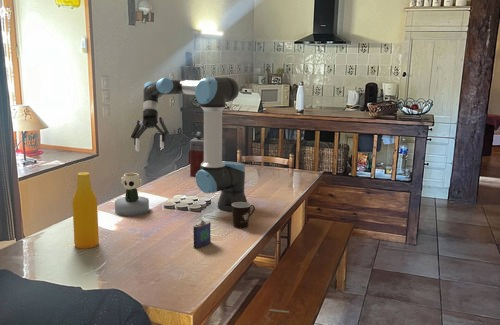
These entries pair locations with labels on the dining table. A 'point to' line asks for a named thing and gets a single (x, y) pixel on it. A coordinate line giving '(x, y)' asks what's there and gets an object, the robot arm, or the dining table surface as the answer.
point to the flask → (202, 234)
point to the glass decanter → (196, 154)
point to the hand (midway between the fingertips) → (149, 149)
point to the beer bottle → (85, 213)
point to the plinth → (131, 206)
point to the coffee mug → (241, 214)
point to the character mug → (131, 185)
